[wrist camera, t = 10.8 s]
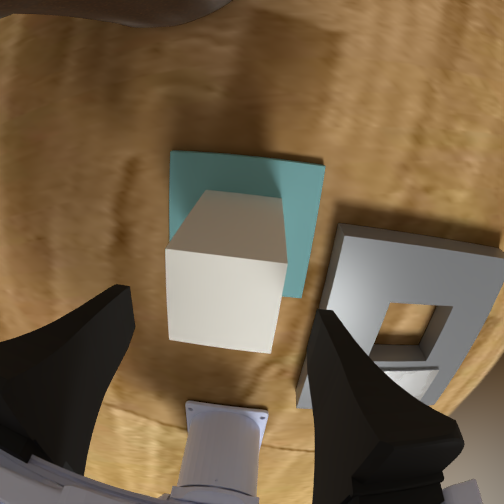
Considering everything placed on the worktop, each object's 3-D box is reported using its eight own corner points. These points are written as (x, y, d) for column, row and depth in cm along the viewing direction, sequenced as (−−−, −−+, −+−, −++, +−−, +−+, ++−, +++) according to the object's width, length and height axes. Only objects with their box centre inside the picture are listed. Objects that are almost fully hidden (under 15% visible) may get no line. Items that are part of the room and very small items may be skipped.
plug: (271, 265, 21) (270, 353, 14) (202, 257, 21) (169, 339, 14) (281, 198, 19) (287, 263, 12) (205, 189, 19) (165, 248, 12)
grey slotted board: (428, 390, 27) (435, 406, 25) (295, 390, 27) (296, 410, 25) (499, 248, 20) (514, 262, 18) (338, 223, 20) (345, 237, 18)
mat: (300, 294, 22) (301, 298, 22) (172, 279, 22) (170, 283, 22) (324, 164, 18) (325, 166, 18) (172, 150, 18) (170, 151, 18)
